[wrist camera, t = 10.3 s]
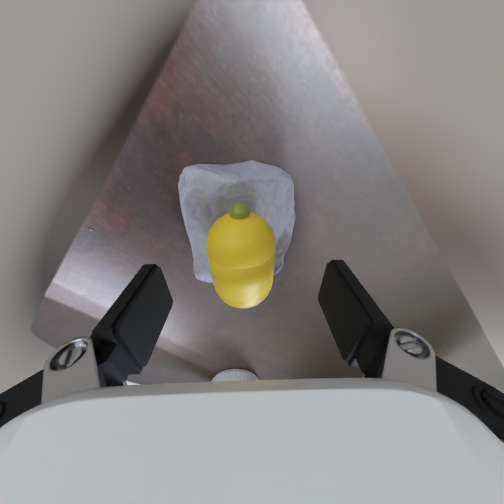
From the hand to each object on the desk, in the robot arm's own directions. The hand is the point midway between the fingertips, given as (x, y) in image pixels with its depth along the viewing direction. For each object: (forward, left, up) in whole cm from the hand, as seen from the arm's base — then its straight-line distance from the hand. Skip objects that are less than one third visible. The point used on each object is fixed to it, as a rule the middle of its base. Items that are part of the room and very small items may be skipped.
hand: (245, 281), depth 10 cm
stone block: (+1, 0, -10) cm, 10 cm away
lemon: (+1, 0, -6) cm, 6 cm away
